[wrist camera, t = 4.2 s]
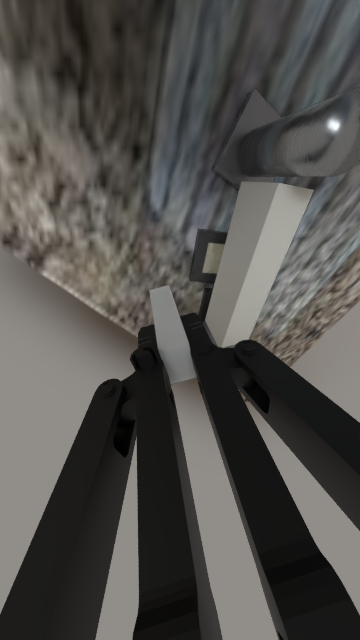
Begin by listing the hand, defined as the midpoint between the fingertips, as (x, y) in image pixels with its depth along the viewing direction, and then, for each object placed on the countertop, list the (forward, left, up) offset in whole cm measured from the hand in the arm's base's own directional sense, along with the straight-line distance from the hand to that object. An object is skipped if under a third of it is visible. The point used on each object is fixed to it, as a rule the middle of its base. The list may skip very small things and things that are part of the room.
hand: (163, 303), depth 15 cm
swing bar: (+6, +3, -4) cm, 8 cm away
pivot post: (+3, +12, -6) cm, 14 cm away
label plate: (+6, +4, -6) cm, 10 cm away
